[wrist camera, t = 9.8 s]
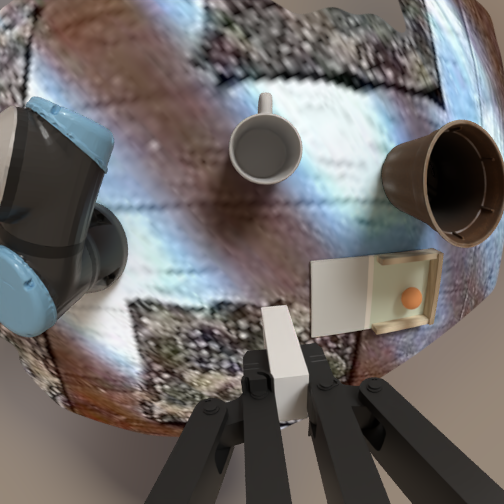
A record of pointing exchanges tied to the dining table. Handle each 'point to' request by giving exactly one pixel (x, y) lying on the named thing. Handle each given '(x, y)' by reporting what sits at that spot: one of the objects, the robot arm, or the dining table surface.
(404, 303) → the ball
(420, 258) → the fence
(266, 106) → the mug
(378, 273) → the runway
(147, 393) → the dining table surface
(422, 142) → the plant pot
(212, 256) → the dining table surface
